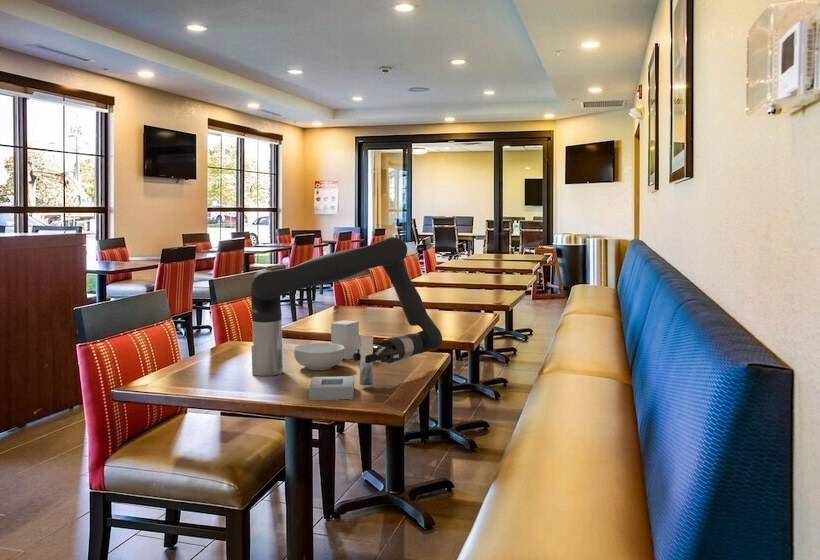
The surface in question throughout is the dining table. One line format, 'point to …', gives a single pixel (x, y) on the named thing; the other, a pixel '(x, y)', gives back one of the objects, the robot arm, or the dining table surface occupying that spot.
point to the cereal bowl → (319, 355)
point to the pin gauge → (365, 368)
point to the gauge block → (331, 388)
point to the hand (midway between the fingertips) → (360, 358)
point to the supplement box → (346, 336)
